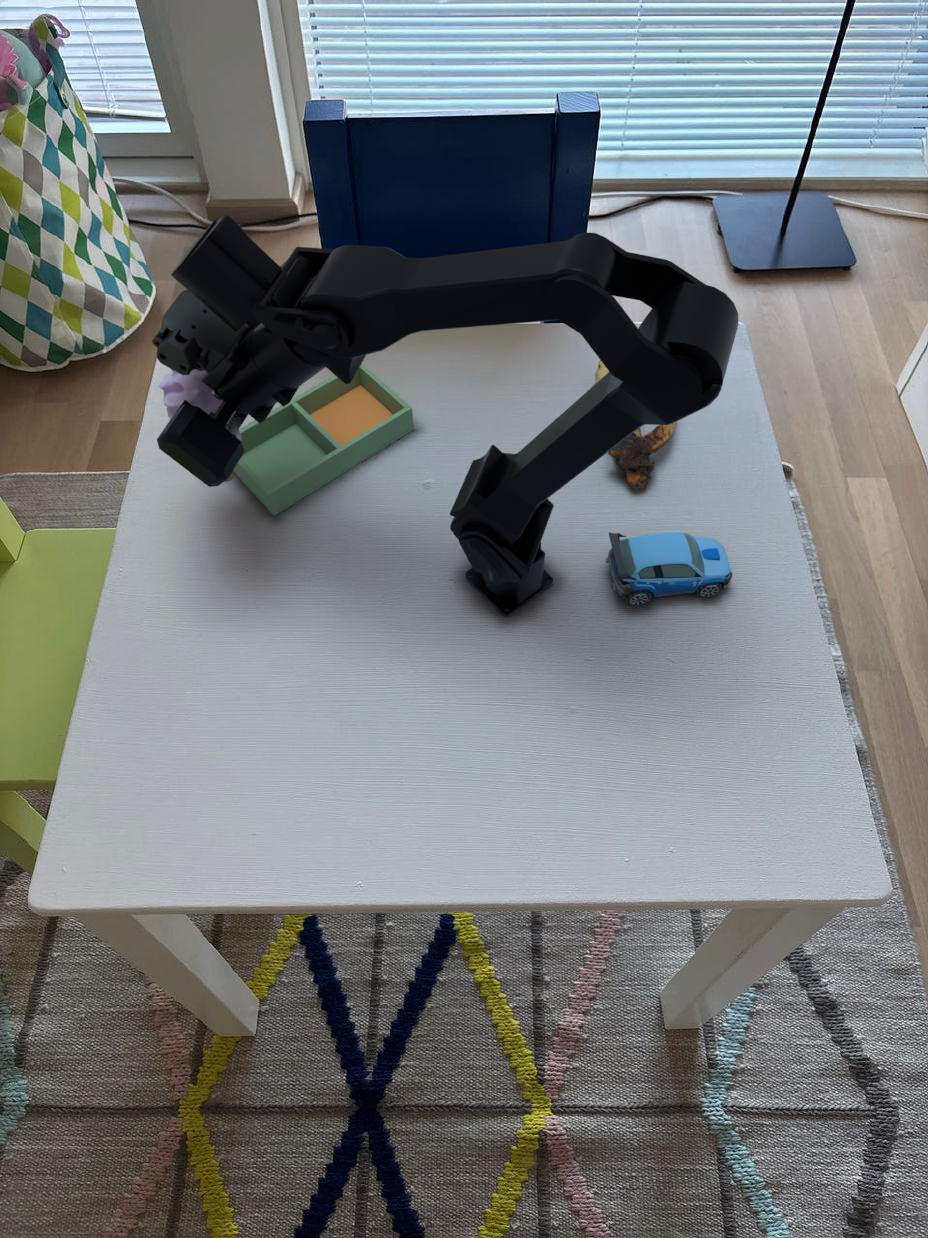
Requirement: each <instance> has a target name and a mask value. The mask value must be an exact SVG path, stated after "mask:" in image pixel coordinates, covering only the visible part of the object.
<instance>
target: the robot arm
mask: <svg viewBox="0 0 928 1238" xmlns="http://www.w3.org/2000/svg"><path fill="white" fill-rule="evenodd" d="M170 276H171V277H172V278H173V279H175V281H177V283H179V284H181V286H182V287H184V288H185V289H184V290H182V291H181V292H179V294H178V296H177V297H176V298H175V300H174V301H173V303H172V304H171V305H170V306H169V307H168V308H167V310H166V311H165V312H164V314H163V316H162V319H161V325H160V328H159V330H158V332H157V333H156V334H155V336H154V337H153V339H152V340H151V343H152V345H154V347H156V348H157V349H156V356H155V357H156V359H157V360H158V362H159V363H160V364H161V365H164V366H166V367H167V368H169V369H170V370H171V369H172V370H174V371H176V372H178V373H180V374H181V375H189V374H190V373H191V371H192V370H194V369H196V370H199V371H203V370H205V371H206V372H207V373H206V374H205V375H204V377H203V378H202V380H201V381H202V382H203V383H205V384H206V385H207V386H208V387H209V388H211V389H212V390H213V391H212V394H213V395H214V396H215V397H216V398H217V399H219V400H222V399H223V400H224V401H223V402H222V404H221V405H220V407H219V408H218V410H217V411H216V413H215V414H214V413H213V412H212V411H210V412H208V413H206V412H205V411H203V410H202V409H201V408H200V407H197V406H193V405H191V404H190V403H189V402H188V401H186V400H184V401H183V403H182V404H181V406H180V407H179V409H178V410H177V412H176V413H175V414H174V416H173V417H172V418H171V420H170V419H169V421H168V422H167V424H166V425H165V427H164V428H163V430H162V431H161V432H160V434H159V435H158V437H157V438H156V442H157V445H158V449H159V450H160V451H161V452H163V453H164V454H165V455H167V456H168V457H169V458H170V459H172V460H173V461H174V462H176V463H177V464H179V465H180V466H181V467H183V468H184V469H185V470H186V471H188V472H189V473H190V474H192V475H193V476H194V477H195V478H197V479H198V480H199V481H200V482H202V483H203V484H205V485H206V486H207V487H208V488H214V487H219V486H220V485H221V484H223V483H226V482H225V481H226V480H227V479H228V478H229V476H230V474H231V473H232V471H233V470H234V468H235V466H236V465H237V463H238V462H239V460H240V458H241V457H242V455H243V453H244V452H245V451H244V448H243V445H242V442H241V440H242V436H241V434H240V432H239V429H241V428H242V426H243V424H244V422H245V420H246V419H247V417H248V416H250V417H251V418H252V419H254V421H255V420H256V421H257V422H258V423H261V422H263V421H264V420H266V418H267V416H268V415H269V413H270V411H272V410H273V408H274V407H275V405H276V404H279V405H280V406H281V405H282V406H283V407H284V406H285V405H287V404H288V403H290V401H291V399H293V398H294V396H295V395H296V393H297V391H298V390H299V388H300V387H301V386H302V385H303V384H305V383H306V382H308V381H309V380H310V379H312V378H313V377H314V376H316V375H317V374H319V373H320V372H321V371H323V370H324V369H325V368H326V369H328V371H330V372H331V373H332V374H333V375H336V376H337V377H338V378H339V379H340V380H341V381H342V382H343V383H345V384H350V383H351V381H352V380H353V378H354V376H355V374H356V373H357V371H358V369H359V367H360V366H361V364H363V362H364V360H365V358H366V357H367V355H371V354H375V353H378V352H382V351H384V350H386V349H388V348H389V347H391V346H393V345H394V344H396V343H398V342H399V341H401V340H403V339H404V338H406V337H408V336H410V335H413V334H416V333H421V332H427V331H428V332H429V331H439V330H441V331H442V330H451V329H453V330H454V329H465V328H466V329H467V328H476V327H477V328H478V327H489V326H490V327H491V326H502V325H513V324H514V325H515V324H526V323H539V322H541V323H542V322H551V321H552V322H553V321H559V322H561V323H563V325H565V326H567V327H569V328H571V329H572V330H573V331H574V332H576V333H578V334H580V335H581V336H582V338H583V339H584V340H585V342H586V343H587V344H588V346H589V347H590V349H592V351H593V352H594V354H595V355H596V356H597V357H598V359H599V361H600V360H601V361H602V363H603V364H604V365H605V367H606V368H607V369H608V371H609V372H608V373H607V374H606V375H605V376H604V377H603V378H602V379H601V380H599V381H598V382H597V383H596V384H595V383H594V385H592V386H591V387H590V388H589V389H588V390H586V392H585V393H583V394H582V395H581V396H580V397H579V398H578V399H577V400H575V402H573V403H572V404H571V405H570V406H569V407H568V408H567V409H566V410H564V412H562V413H561V414H560V415H559V416H558V417H557V418H555V419H554V420H553V421H552V422H551V423H550V424H548V425H547V427H545V428H544V429H543V430H542V431H541V432H539V433H538V435H536V436H535V437H534V438H533V439H531V441H529V442H528V443H527V444H526V445H525V446H524V447H523V448H522V449H520V450H519V451H518V452H516V453H511V452H510V453H509V452H503V451H501V450H500V449H499V448H498V447H497V446H496V445H495V444H491V445H490V446H489V449H488V450H487V452H486V453H485V454H484V455H483V456H481V457H480V458H477V459H473V460H472V462H471V464H470V466H469V469H468V471H467V472H466V476H465V478H464V480H463V482H462V485H461V487H460V489H459V491H458V494H457V496H456V499H455V501H454V503H453V504H452V507H451V510H450V512H449V516H451V517H452V520H451V522H450V526H449V530H450V532H452V533H453V535H454V537H455V538H456V539H457V540H458V543H459V545H460V547H461V549H462V551H463V554H464V555H465V557H466V558H467V560H468V563H469V564H470V566H471V568H470V569H468V570H467V571H466V572H465V573H464V574H465V575H464V577H465V579H466V581H467V582H469V584H470V585H472V587H474V588H475V589H476V591H478V592H479V594H481V596H482V597H484V598H485V599H486V600H487V601H488V602H489V604H491V605H492V606H493V607H494V608H495V609H496V610H497V611H498V612H499V613H500V614H501V615H502V616H503V617H509V616H511V615H513V614H514V613H515V612H517V611H518V610H519V609H521V608H522V607H523V606H525V605H526V604H528V603H529V602H531V601H532V600H533V599H534V598H536V597H537V596H538V595H540V594H541V593H542V592H544V591H545V590H546V589H548V588H549V587H551V586H552V585H553V584H554V577H553V576H552V575H550V574H549V572H547V571H546V570H545V569H544V568H545V560H546V553H545V551H543V550H542V539H543V537H544V534H545V531H546V529H547V526H548V523H549V521H550V518H551V515H552V512H553V510H554V506H555V505H554V503H553V502H552V501H550V500H549V498H551V496H553V495H554V494H556V493H557V492H558V491H560V490H561V489H563V487H564V486H566V485H567V484H569V483H570V482H571V481H572V480H574V479H575V478H576V477H578V475H580V474H582V473H583V472H585V470H587V469H589V467H591V466H592V465H593V464H595V463H596V462H597V461H598V460H600V458H602V457H603V456H605V455H606V454H608V452H609V451H610V450H611V449H613V448H614V447H615V446H616V445H618V444H619V443H620V442H622V441H623V440H624V439H626V438H627V437H628V436H629V435H631V434H632V433H633V432H635V431H636V430H637V429H639V428H640V429H641V428H642V427H643V426H645V425H647V426H648V425H655V426H658V425H669V424H673V423H675V422H676V423H677V422H679V421H681V420H683V419H685V418H687V417H690V416H692V415H693V414H695V413H697V412H700V411H701V410H703V409H705V408H707V407H708V406H710V405H711V404H712V403H713V402H714V401H715V400H716V399H717V398H718V397H719V395H720V393H721V391H722V388H723V383H724V380H725V377H726V372H727V368H728V366H729V362H730V358H731V353H732V351H733V346H734V343H735V339H736V335H737V332H738V327H739V312H738V310H737V307H736V304H735V302H734V301H733V300H732V299H731V298H730V297H729V296H728V295H727V293H725V292H724V291H722V290H720V289H718V288H717V287H715V286H711V285H708V284H706V283H705V282H703V281H701V280H700V279H698V278H697V277H695V276H694V275H692V274H690V273H689V272H688V271H686V270H684V269H683V268H682V267H680V266H679V265H677V264H676V263H674V262H673V261H671V260H668V259H665V258H660V257H655V256H650V255H645V254H640V253H636V252H630V251H626V250H625V249H624V248H622V247H621V246H619V245H618V244H616V243H614V242H613V241H611V240H610V239H608V238H607V237H606V236H603V235H601V234H599V233H596V232H588V231H587V232H586V231H584V232H581V233H578V234H576V235H574V236H573V237H571V238H570V239H566V240H562V241H552V242H546V243H538V244H529V245H521V246H520V245H519V246H514V247H513V246H512V247H504V248H503V247H502V248H497V249H496V248H495V249H488V250H480V251H471V252H464V253H456V254H447V255H440V256H431V257H430V256H429V257H424V258H420V257H419V258H417V257H406V256H404V255H403V254H402V253H400V252H397V251H396V250H394V249H392V248H391V247H387V246H380V245H379V246H377V245H359V244H358V245H357V244H345V245H341V246H338V247H336V248H321V247H305V246H296V247H294V249H293V250H292V252H291V254H290V255H289V257H288V258H287V259H286V260H285V261H284V262H283V263H282V264H281V265H279V264H278V263H277V262H276V261H275V260H274V259H272V258H271V257H270V256H269V255H268V254H267V252H265V251H264V250H263V249H262V248H261V247H260V246H259V245H258V244H257V243H256V242H255V241H254V240H253V239H251V238H250V236H248V234H247V233H246V232H245V230H244V228H242V227H241V226H240V225H239V224H238V223H237V222H236V220H235V219H233V218H232V217H231V216H230V215H228V214H224V215H223V217H220V218H219V219H218V220H216V219H213V221H212V222H211V223H210V224H209V226H208V227H207V228H206V229H205V230H204V231H203V232H202V234H200V236H199V237H198V238H197V239H196V241H195V242H194V243H193V244H192V246H191V247H190V248H189V250H188V251H187V252H186V253H185V255H183V257H182V258H181V259H180V261H179V262H178V263H177V265H176V266H174V268H173V270H172V272H171V273H170ZM615 297H618V298H624V299H630V300H635V301H639V302H642V303H643V304H645V305H646V306H648V307H650V308H651V309H650V311H649V312H648V314H647V315H646V316H645V317H644V319H643V321H642V322H641V323H640V325H639V326H638V327H637V325H636V324H635V322H634V321H633V320H632V319H631V317H630V316H629V315H628V313H627V312H626V311H625V310H624V308H623V307H622V306H621V304H620V303H619V302H618V300H617V299H616V298H615ZM172 370H171V371H172ZM234 411H235V413H234ZM233 413H234V414H233ZM232 415H233V417H231V416H232ZM230 418H231V420H230V421H229V419H230ZM228 421H229V422H230V423H228V424H227V422H228ZM227 427H229V428H228V429H226V428H227ZM470 575H471V576H470Z"/></svg>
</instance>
